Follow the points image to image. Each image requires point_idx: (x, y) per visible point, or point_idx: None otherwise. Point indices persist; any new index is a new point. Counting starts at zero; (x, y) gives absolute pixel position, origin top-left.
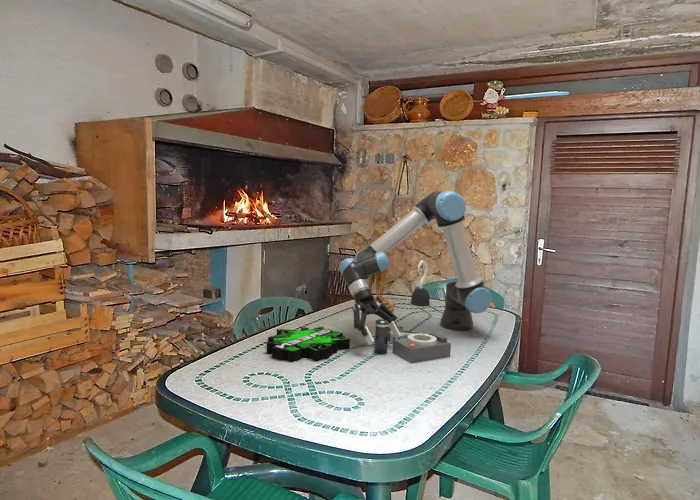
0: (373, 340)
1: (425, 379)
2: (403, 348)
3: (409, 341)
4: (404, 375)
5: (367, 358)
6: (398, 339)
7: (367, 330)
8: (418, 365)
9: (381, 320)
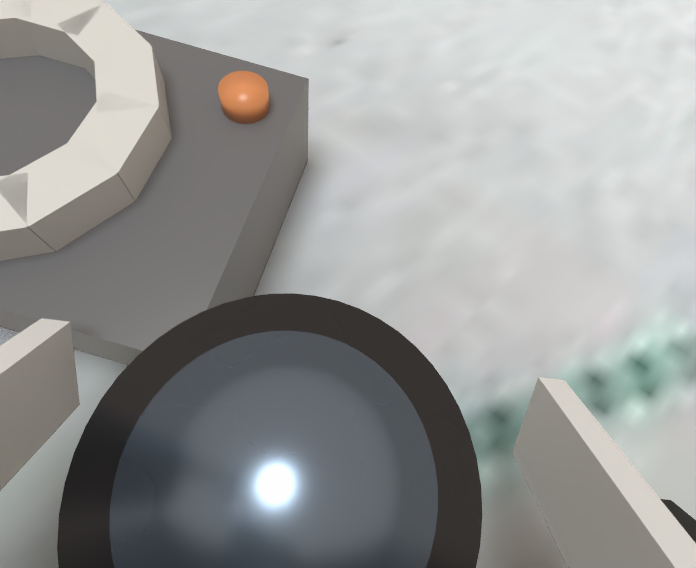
0: (550, 384)
1: (443, 9)
2: (269, 197)
3: (140, 175)
4: (500, 88)
5: None
6: (129, 322)
7: (678, 525)
8: None
9: (259, 544)
